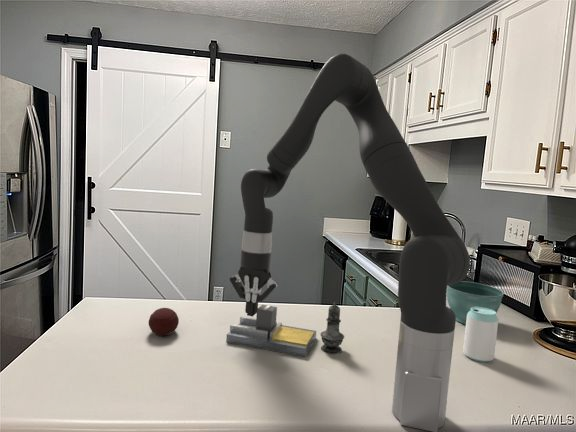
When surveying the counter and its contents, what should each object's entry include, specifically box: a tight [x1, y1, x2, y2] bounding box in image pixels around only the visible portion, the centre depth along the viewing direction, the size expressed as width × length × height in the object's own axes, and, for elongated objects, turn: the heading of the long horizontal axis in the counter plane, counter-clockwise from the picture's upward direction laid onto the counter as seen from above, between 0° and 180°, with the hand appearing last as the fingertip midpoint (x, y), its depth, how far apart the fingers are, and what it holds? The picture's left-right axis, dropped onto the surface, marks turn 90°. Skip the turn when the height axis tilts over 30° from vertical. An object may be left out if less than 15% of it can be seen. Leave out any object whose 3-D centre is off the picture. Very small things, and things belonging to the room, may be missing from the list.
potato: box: [148, 307, 180, 337], centre depth 106 cm, size 7×10×6 cm
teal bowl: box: [446, 280, 504, 325], centre depth 129 cm, size 16×16×11 cm
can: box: [462, 307, 499, 363], centre depth 103 cm, size 7×7×12 cm
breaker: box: [255, 304, 278, 335], centre depth 105 cm, size 4×4×6 cm
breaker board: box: [226, 315, 317, 358], centre depth 105 cm, size 12×20×4 cm, turn 74°
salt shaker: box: [320, 301, 345, 355], centre depth 102 cm, size 6×6×12 cm
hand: (251, 315), depth 106 cm, fingers closed
